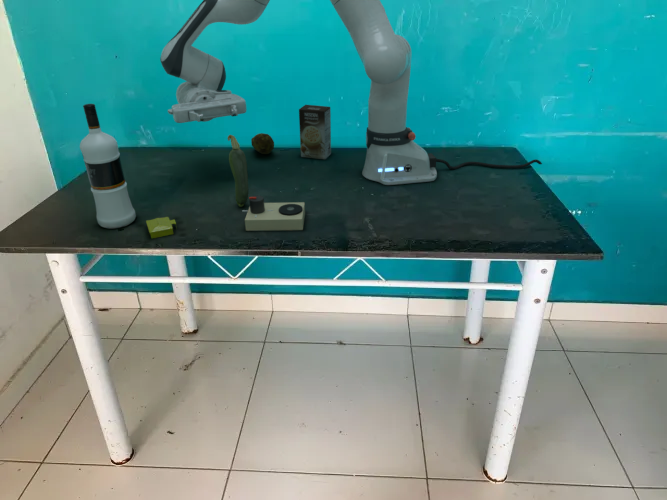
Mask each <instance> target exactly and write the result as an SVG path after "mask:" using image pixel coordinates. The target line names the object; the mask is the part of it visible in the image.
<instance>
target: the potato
mask: <svg viewBox="0 0 667 500" xmlns="http://www.w3.org/2000/svg"><path fill="white" fill-rule="evenodd" d="M250 143H251V146H252V147H253V149H254V150H255V151H256V152H258V153H260V154H262V155H269V154H270V153H272V152H273V151H274V149H275V141H274V139H273V138H272V136H271V135H270V134H268V133H263V132H261V133H257V134H255V136H253V137H251V142H250Z"/></svg>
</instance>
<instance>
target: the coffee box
mask: <svg viewBox="0 0 667 500" xmlns="http://www.w3.org/2000/svg"><path fill="white" fill-rule="evenodd" d="M331 115H332V113H331V106H327V105H325V106H324V105H313V104H304V105H303V106H301V107H300V108H299V109H298V122H299V144H300V146H299V147H300V157H301V158H309V159H318V160H327V159H328V158H329V156H331V155H332V127H331V126H332V125H331V124H332V123H331V118H332V117H331Z"/></svg>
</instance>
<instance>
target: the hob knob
mask: <svg viewBox="0 0 667 500" xmlns="http://www.w3.org/2000/svg"><path fill="white" fill-rule="evenodd" d="M248 201H249V207H250V211H251V213H254V214H260V213H263V212H264V211H265V206H264V203H265V198H264V196H262V195H253V196H248Z"/></svg>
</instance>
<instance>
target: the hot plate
mask: <svg viewBox="0 0 667 500" xmlns="http://www.w3.org/2000/svg"><path fill="white" fill-rule="evenodd" d="M286 204H297V205H300V206H302V208H303V211H302V212H301V213H300V214H297V215H292V216H287V215H282V214H280V213H279V208H280V207H281V206H283V205H286ZM264 206H265V211H264V212H263V213H260V214H254V213H251V211H250V206H249V207H248V209H246V210H245V209H243V210H241V211H242V212H247V213H246V216H245V218H244V226H245V231H247V232H251V231H252V232H255V231H257V232H259V231H261V232H262V231H264V232H265V231H303V230H304V223H305V217H306V204H305V202H304V201H301V202H299V201H297V202H264Z"/></svg>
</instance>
